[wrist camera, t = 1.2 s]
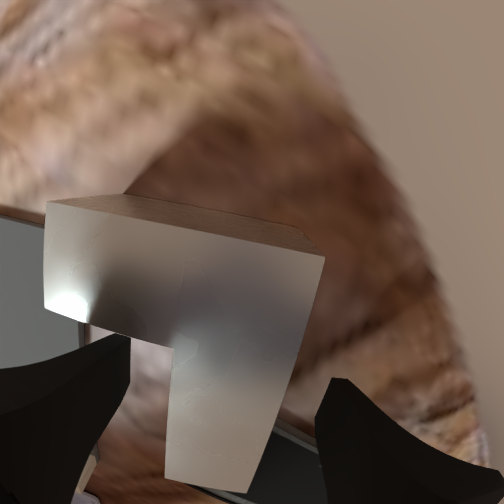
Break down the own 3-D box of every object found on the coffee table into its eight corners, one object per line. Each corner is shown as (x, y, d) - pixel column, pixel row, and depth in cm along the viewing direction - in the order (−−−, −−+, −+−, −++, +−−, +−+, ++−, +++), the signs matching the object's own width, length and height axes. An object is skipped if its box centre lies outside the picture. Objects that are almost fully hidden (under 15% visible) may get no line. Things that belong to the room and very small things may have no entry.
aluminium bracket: (249, 412, 13) (246, 493, 8) (111, 378, 13) (67, 443, 8) (297, 227, 12) (325, 257, 7) (122, 193, 11) (46, 201, 6)
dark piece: (332, 534, 16) (168, 475, 14) (330, 524, 17) (172, 462, 15) (414, 488, 14) (258, 413, 12) (409, 478, 15) (258, 399, 14)
